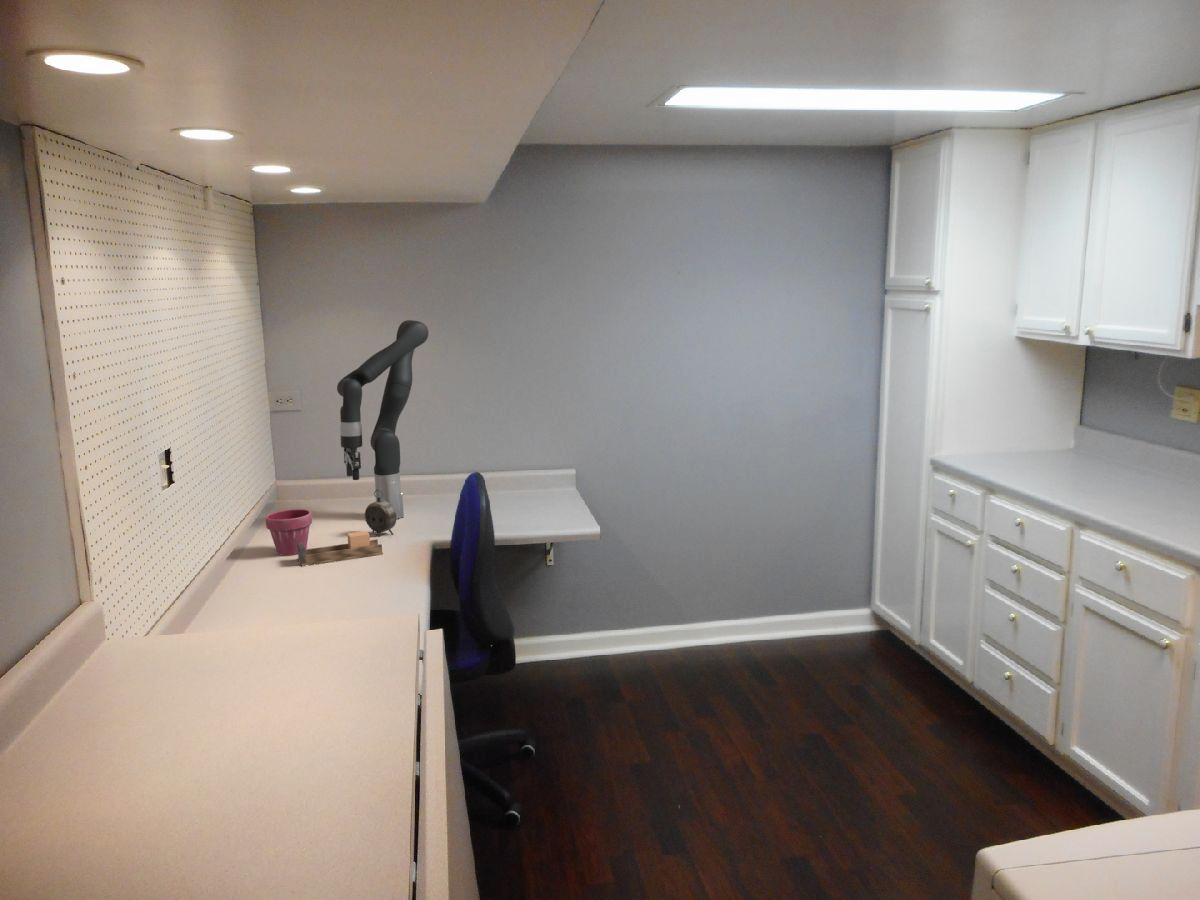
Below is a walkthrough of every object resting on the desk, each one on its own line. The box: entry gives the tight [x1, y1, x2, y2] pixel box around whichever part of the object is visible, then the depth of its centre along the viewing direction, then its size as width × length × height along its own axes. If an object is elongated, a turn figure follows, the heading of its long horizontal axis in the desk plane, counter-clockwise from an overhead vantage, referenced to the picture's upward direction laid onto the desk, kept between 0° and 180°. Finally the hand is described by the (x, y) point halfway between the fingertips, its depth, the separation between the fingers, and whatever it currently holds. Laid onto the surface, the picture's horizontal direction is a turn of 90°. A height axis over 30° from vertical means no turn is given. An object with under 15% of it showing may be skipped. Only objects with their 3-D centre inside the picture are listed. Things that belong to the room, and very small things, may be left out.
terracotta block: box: [347, 530, 371, 549], centre depth 277 cm, size 6×5×6 cm
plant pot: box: [265, 508, 313, 556], centre depth 281 cm, size 14×14×13 cm
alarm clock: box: [364, 489, 397, 537], centre depth 299 cm, size 11×5×16 cm, turn 65°
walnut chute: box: [297, 539, 384, 567], centre depth 275 cm, size 25×9×6 cm, turn 116°
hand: (352, 477), depth 312 cm, fingers open, 8 cm apart
